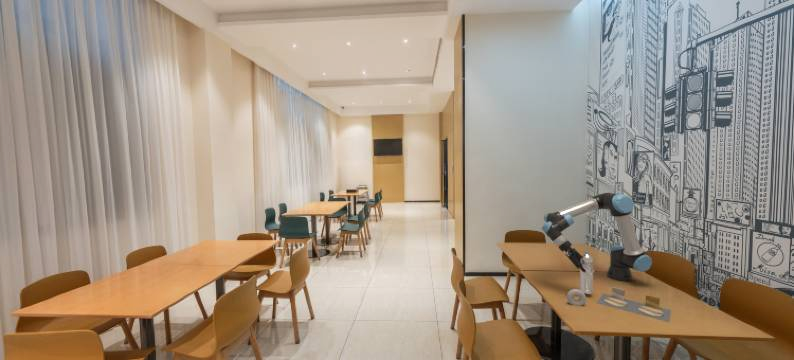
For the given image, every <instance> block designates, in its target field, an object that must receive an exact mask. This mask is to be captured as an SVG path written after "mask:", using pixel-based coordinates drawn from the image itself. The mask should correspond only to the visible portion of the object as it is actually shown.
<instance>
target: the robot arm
mask: <svg viewBox="0 0 794 360" xmlns="http://www.w3.org/2000/svg"><path fill="white" fill-rule="evenodd" d="M634 207H635V204H634V200H633V199H632V198H631V197H630V196H628V195H626V194H623V193H613V192H603V193H599V194H596V195H593V196H590V197H588V199H587V200H584V201H582V202H580V203H579V202H578V203H577V204H574V205H571V206H569V207H565V208H563V209H560V210H558V211H554V212H547V213H545V214H544V216H543V220H544V222H545V224H542V226H541V230H542V232H543V233H544V234H545V235H546V236H547V237H548V238H549V239H550V240H551V241H552V243H553V244H554V245H555V246H557V247H558V249H559V251H561V252H565V254H564V255H565V256H566V257H567V258H568V259H569V260H570V262H571V263H572V264H573V265H574V266H575V267H576V269H577V270H578V269H579V270H580V269H581V271H582V272H583V273H584V274H585V275H586V276H587V277H589V276H591V275H592V274H591V273H590V272H589V271H588V270H587V269H586V268H585V267H584V266H582V264H581V260H580V258H581V256H582V254H580V253H579V251H578V250H577V249H576V248H575V247H573V248H572V245H573V244H572V243H571V242H570V240H568V238H567V237H566V236H564V234H563V233H562V232H563V231H565V230H566V229H567V228H569V227H571V225H573V224H574V223H575V219H574V218H575V217H578V216H581V215H584V214H586V213H589V212H591V211H595V212H596V211H598V210H607V211H609V213H610V216H611V217H613V218H614V219H615V223H616V226H617V229H618V232H619V235H620V238H621V240H622V244H623V245H619V244H618V245H617V244H616V245H612V246H611V247H610V251H609V253H610V256H609V257H610V259H609V260H610V262H609V267H608V269H607V272H606V276H607V277H608V278H610V279H612V280H615V281H621V282H631V281H634V278H633V277H634V276H633V274H632V271H631V269H632V270H634V271H638V272H642V273H643V272H646V271H648V270H649V269H650V268H651V267H652V265H653V264H652V263H653V260H652V257H650V255H648V254H646V251H645V249H644V248H643V247H641V245H640V242H639V239H638V235H637V233H636V229H635V226H634V224H633V221H632V220H633V219H632V217H631V215H632V213H633V209H634ZM594 273H595V269H593V274H594Z"/></svg>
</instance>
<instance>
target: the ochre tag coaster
mask: <svg viewBox="0 0 794 360" xmlns="http://www.w3.org/2000/svg"><path fill="white" fill-rule="evenodd" d="M660 301H661V299H660V297H659V296H658V297H657V296H653V295H649V294H645V303H644V304H645V306H640V307H638V310H639V311H640V312H642V313H644V314H647V315H650V316H656V317H662V316H664V313H663V312H662V311H661V310H658V309H659V307H660ZM648 306H649V307H648ZM652 307H653V308H652ZM656 308H657V309H656Z"/></svg>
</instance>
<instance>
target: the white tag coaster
mask: <svg viewBox="0 0 794 360" xmlns="http://www.w3.org/2000/svg"><path fill="white" fill-rule="evenodd" d="M625 292H626V291H625V289H624V288H619V287H614V286H612V288H611V296H612V297H613V298H605V299H604V301H605V302H606V303H607V304H610V305H613V306H617V307H626V306H627V303H626V302H625V301H623V300H624V299H625V294H626V293H625ZM616 298H617V299H616ZM620 299H621V300H620Z"/></svg>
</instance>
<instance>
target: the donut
mask: <svg viewBox="0 0 794 360" xmlns="http://www.w3.org/2000/svg"><path fill="white" fill-rule="evenodd" d="M575 296H578V299H577V300H576V299H575V298H574V297H575ZM566 300H567V303H569V304H570V305H572V306H579V307H580V306H584V305H585V304H586V301H587V296H586V293H583V292H582V291H581V290H580V289H577V288H573V289H570V290H569V291H568V292H567V294H566Z"/></svg>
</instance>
